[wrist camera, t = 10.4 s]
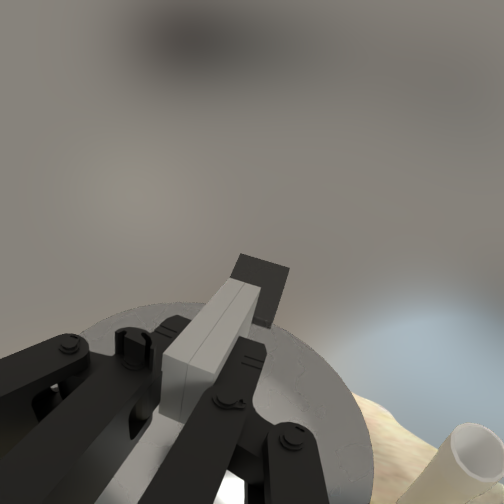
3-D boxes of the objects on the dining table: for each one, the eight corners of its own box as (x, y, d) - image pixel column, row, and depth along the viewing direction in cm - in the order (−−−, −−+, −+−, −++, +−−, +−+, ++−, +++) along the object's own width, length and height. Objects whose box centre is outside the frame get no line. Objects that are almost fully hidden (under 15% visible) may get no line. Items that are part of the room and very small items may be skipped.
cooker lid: (294, 629, 4) (298, 638, 3) (5, 506, 7) (-6, 506, 6) (397, 311, 17) (406, 302, 16) (138, 232, 20) (134, 221, 19)
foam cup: (381, 485, 26) (440, 423, 22) (433, 481, 25) (490, 420, 21) (389, 542, 17) (466, 490, 13) (446, 530, 16) (518, 473, 12)
